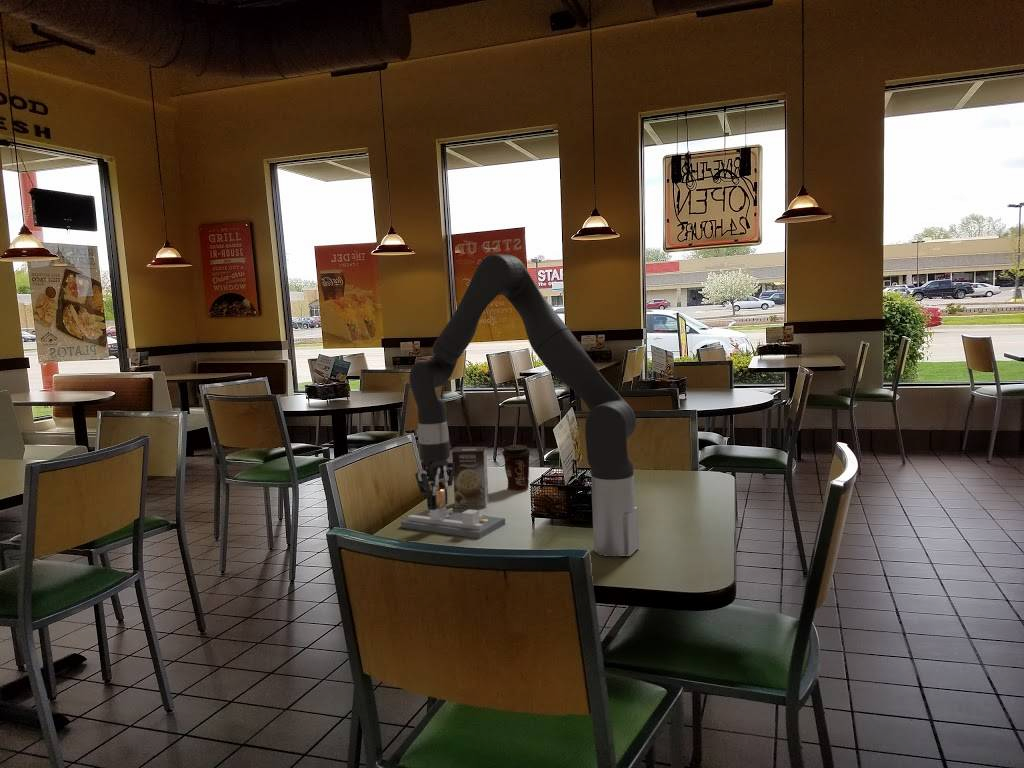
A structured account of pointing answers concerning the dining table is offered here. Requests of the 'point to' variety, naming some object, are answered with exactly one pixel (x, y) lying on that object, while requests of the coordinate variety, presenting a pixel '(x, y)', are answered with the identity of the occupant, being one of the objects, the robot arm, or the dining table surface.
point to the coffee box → (470, 477)
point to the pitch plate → (455, 523)
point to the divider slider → (440, 506)
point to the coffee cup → (517, 467)
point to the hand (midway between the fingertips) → (437, 506)
